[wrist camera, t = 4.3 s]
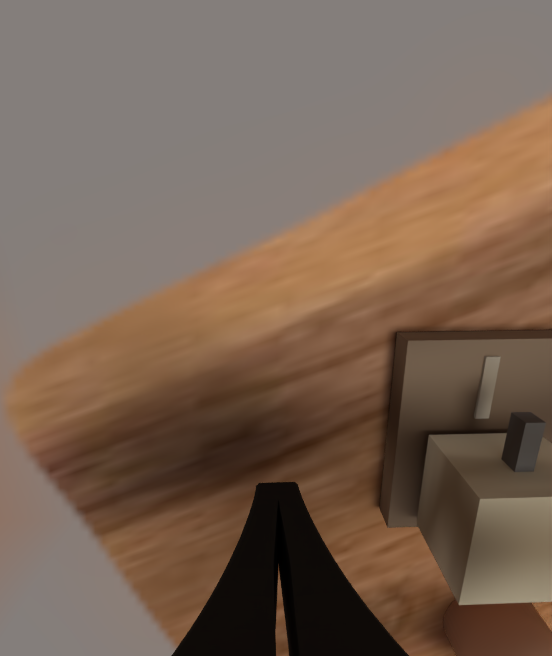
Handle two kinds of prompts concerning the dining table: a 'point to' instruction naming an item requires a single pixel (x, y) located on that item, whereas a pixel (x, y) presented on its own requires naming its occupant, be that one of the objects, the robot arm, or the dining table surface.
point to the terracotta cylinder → (497, 630)
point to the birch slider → (491, 512)
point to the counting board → (457, 399)
